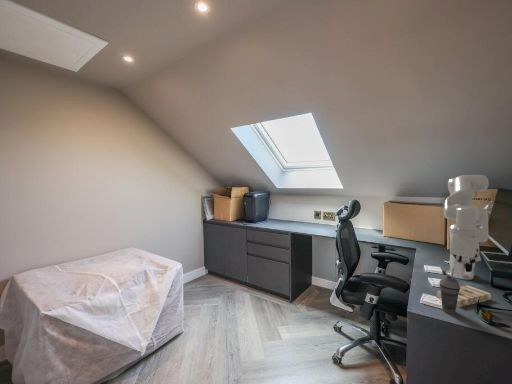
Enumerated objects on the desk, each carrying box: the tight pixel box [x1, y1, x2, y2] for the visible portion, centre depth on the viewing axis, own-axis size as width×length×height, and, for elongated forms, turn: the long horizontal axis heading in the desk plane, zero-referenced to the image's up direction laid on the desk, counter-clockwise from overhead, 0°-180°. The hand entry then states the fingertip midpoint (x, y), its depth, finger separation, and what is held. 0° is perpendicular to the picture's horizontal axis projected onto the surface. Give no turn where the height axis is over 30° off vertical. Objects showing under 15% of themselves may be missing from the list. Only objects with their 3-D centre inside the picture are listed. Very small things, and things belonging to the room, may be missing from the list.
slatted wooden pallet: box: [436, 284, 492, 308], centre depth 118 cm, size 22×10×3 cm, turn 107°
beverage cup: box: [438, 268, 461, 315], centre depth 106 cm, size 7×7×20 cm
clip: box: [454, 260, 476, 279], centre depth 117 cm, size 10×3×7 cm, turn 107°
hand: (464, 269), depth 117 cm, fingers closed on clip, 3 cm apart
